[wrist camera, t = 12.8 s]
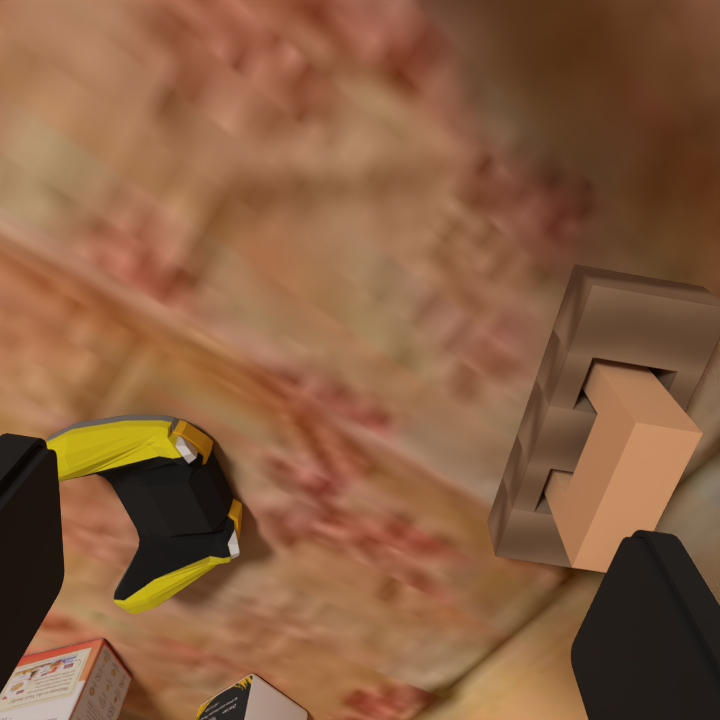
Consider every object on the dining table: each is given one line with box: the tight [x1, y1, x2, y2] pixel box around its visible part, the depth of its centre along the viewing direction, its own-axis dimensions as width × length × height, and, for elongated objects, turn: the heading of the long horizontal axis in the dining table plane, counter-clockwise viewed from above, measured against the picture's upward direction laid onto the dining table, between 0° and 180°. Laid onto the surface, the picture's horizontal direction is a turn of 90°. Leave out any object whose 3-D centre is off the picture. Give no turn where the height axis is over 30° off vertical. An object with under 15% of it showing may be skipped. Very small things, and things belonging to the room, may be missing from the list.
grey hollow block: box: [488, 265, 720, 573], centre depth 40 cm, size 20×8×4 cm, turn 170°
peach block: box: [543, 357, 703, 572], centre depth 38 cm, size 10×4×9 cm, turn 170°
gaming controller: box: [46, 415, 242, 614], centre depth 43 cm, size 15×6×10 cm
